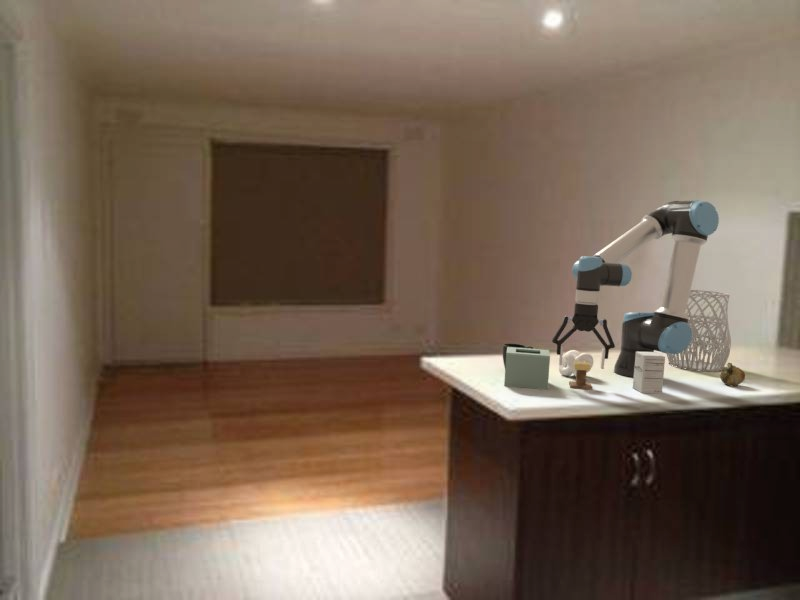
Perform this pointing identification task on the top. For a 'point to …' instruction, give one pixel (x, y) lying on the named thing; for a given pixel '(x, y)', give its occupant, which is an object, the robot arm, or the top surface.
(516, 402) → the top surface
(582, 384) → the token stand
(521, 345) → the mug
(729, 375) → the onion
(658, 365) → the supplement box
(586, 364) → the panel
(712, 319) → the vase
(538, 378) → the box
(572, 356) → the white knot sculpture
